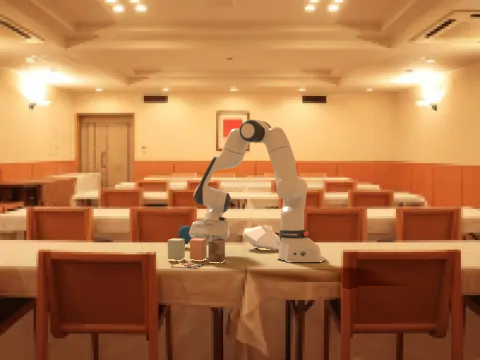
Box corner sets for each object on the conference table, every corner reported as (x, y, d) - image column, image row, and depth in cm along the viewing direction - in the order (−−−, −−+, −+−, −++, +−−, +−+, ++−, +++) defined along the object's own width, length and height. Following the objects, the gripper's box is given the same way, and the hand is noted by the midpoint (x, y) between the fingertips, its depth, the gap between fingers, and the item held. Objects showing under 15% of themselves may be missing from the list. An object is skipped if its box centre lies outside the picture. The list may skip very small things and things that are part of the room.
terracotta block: (206, 259, 258) (206, 238, 257) (202, 261, 252) (202, 240, 252) (194, 259, 259) (194, 238, 259) (190, 261, 254) (189, 240, 253)
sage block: (184, 259, 258) (184, 238, 257) (179, 262, 252) (179, 240, 252) (173, 259, 259) (172, 238, 259) (167, 261, 254) (167, 240, 253)
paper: (276, 253, 273) (276, 229, 272) (233, 250, 284) (233, 226, 284) (295, 247, 295) (295, 224, 295) (254, 244, 306) (254, 221, 306)
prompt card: (203, 264, 245) (203, 262, 245) (196, 268, 236) (196, 266, 236) (179, 263, 248) (178, 261, 248) (171, 267, 240) (171, 265, 240)
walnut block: (225, 261, 252) (224, 240, 252) (221, 264, 246) (220, 242, 246) (212, 261, 254) (212, 239, 253) (208, 263, 248) (208, 241, 248)
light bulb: (186, 249, 288) (186, 226, 288) (175, 247, 293) (174, 225, 293) (197, 247, 295) (196, 225, 294) (185, 246, 300) (185, 224, 299)
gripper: (191, 217, 275) (184, 239, 266) (230, 218, 269) (224, 240, 260) (194, 225, 279) (187, 247, 270) (232, 226, 274) (227, 248, 264)
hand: (206, 244), depth 265 cm, fingers closed
